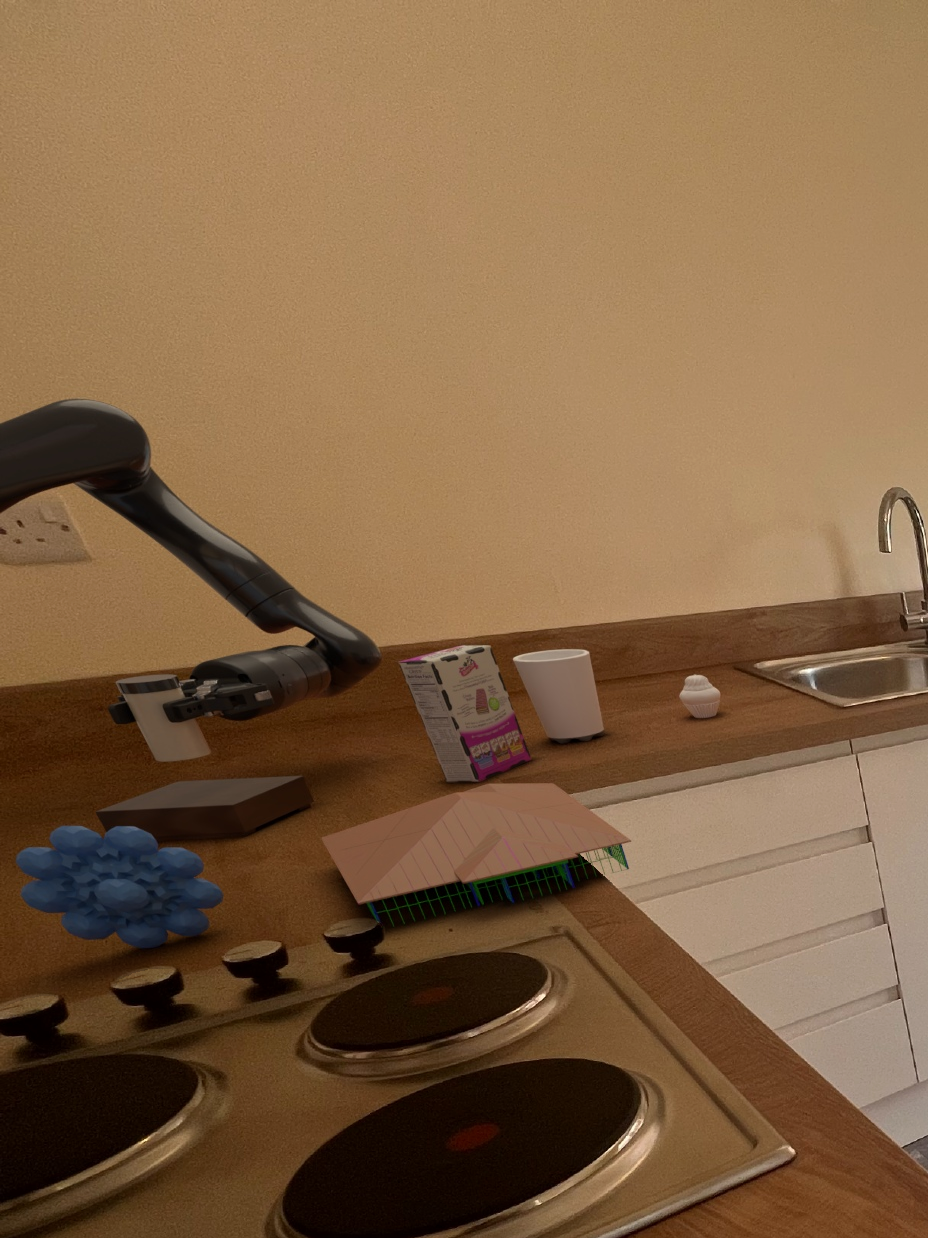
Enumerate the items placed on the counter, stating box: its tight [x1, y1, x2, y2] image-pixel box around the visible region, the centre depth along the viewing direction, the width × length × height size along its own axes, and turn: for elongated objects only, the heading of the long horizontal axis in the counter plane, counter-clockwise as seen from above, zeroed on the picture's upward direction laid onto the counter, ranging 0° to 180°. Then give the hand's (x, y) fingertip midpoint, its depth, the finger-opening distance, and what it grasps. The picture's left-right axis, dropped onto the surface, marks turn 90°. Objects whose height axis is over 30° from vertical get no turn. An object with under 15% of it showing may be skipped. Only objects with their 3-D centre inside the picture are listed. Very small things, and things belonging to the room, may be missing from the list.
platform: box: [95, 775, 315, 842], centre depth 125 cm, size 14×12×4 cm
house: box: [320, 782, 632, 927], centre depth 111 cm, size 23×33×8 cm
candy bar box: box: [397, 644, 532, 783], centre depth 142 cm, size 11×5×16 cm, turn 179°
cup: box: [512, 648, 605, 744], centre depth 159 cm, size 10×10×13 cm
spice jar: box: [115, 673, 212, 763], centre depth 120 cm, size 5×5×9 cm
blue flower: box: [15, 825, 224, 949], centre depth 91 cm, size 12×7×12 cm, turn 134°
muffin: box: [678, 673, 721, 719], centre depth 173 cm, size 6×6×7 cm
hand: (142, 714), depth 117 cm, fingers closed on spice jar, 5 cm apart
